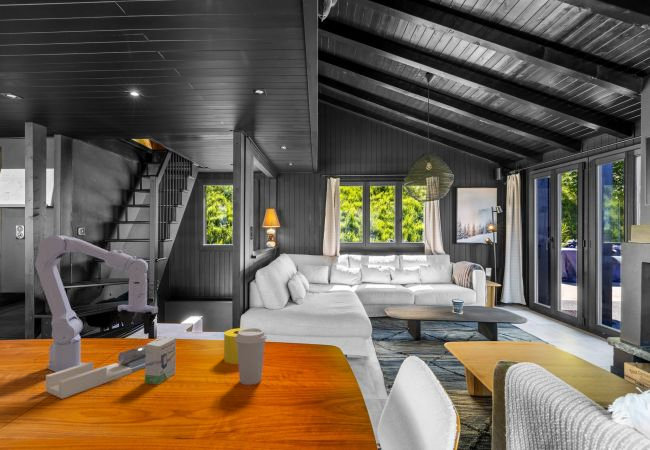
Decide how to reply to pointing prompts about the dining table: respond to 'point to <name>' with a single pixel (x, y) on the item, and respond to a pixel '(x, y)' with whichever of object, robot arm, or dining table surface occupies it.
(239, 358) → the coffee cup
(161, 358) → the ink box
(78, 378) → the white channel tray
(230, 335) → the yellow cylinder
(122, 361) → the axle
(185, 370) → the dining table surface
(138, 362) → the cradle
